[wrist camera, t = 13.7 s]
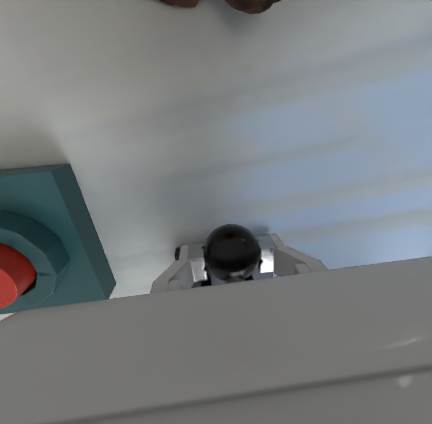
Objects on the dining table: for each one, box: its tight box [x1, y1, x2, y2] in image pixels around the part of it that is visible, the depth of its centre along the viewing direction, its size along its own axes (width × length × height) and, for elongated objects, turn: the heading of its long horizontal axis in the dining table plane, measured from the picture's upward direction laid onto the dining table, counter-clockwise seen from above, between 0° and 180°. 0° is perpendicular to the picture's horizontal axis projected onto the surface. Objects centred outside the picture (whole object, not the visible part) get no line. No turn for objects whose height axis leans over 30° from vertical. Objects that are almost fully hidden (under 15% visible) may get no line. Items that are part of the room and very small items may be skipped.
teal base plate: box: [0, 164, 116, 314], centre depth 16 cm, size 12×10×4 cm
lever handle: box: [203, 224, 260, 284], centre depth 12 cm, size 13×3×3 cm, turn 5°
